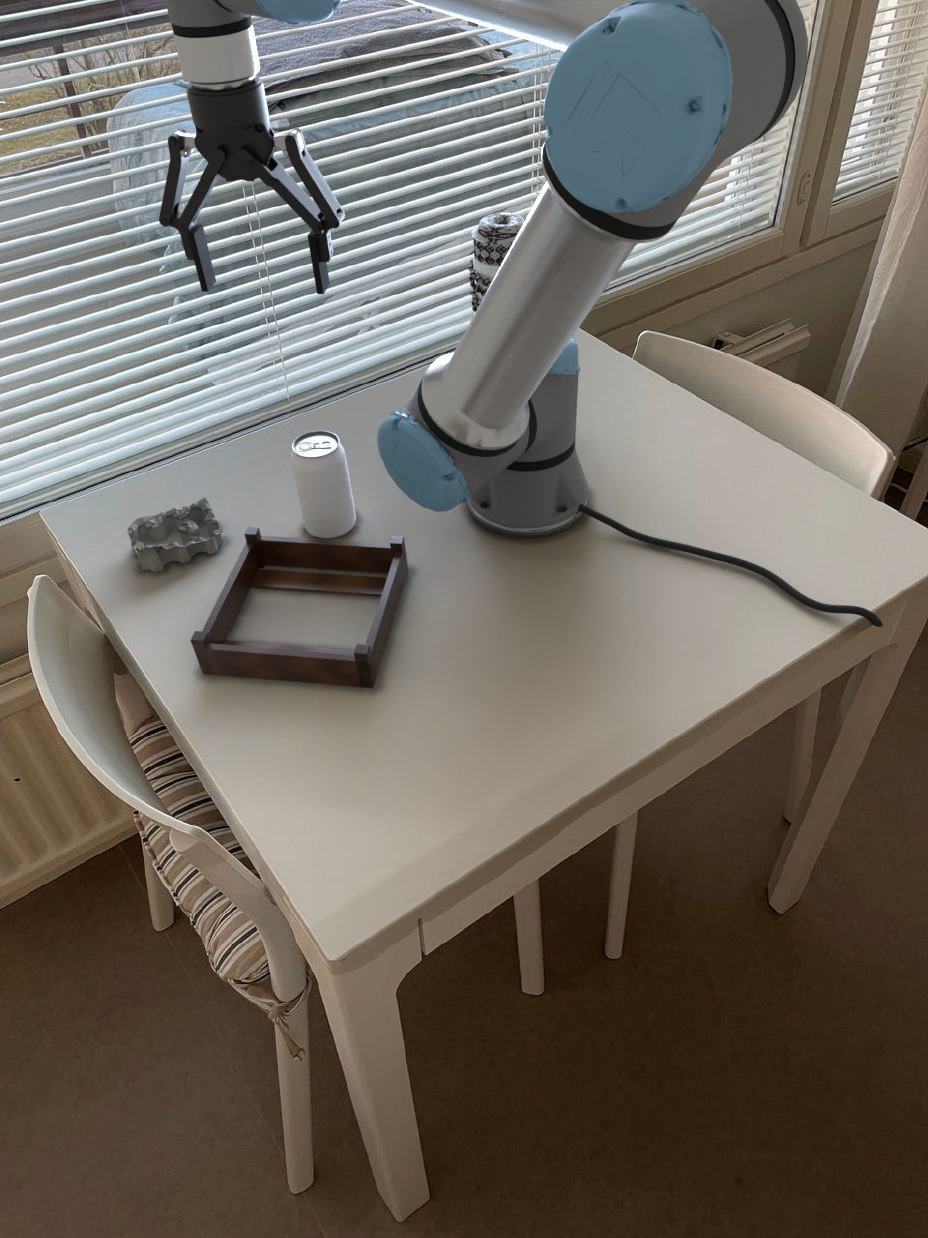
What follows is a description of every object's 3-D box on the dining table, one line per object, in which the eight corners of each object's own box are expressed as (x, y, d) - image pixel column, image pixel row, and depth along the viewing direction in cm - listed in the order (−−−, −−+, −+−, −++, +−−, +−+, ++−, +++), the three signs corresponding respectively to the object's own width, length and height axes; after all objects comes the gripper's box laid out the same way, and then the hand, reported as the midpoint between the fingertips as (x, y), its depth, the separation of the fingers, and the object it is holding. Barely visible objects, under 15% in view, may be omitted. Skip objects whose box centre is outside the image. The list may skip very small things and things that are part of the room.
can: (306, 511, 120) (289, 430, 111) (356, 506, 120) (343, 426, 112) (304, 542, 115) (286, 461, 107) (356, 538, 115) (343, 456, 107)
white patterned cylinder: (487, 370, 143) (481, 202, 125) (544, 380, 140) (546, 209, 122) (464, 400, 137) (454, 228, 119) (523, 411, 134) (522, 236, 117)
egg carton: (141, 578, 112) (131, 552, 109) (131, 542, 117) (121, 516, 114) (228, 551, 115) (220, 525, 112) (215, 517, 120) (207, 492, 117)
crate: (408, 570, 110) (404, 536, 107) (373, 688, 97) (366, 654, 94) (256, 560, 113) (247, 526, 110) (202, 674, 100) (190, 640, 96)
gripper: (355, 66, 92) (379, 275, 107) (120, 69, 96) (174, 271, 111) (336, 88, 87) (364, 305, 102) (88, 90, 91) (150, 299, 105)
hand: (265, 287), depth 106 cm, fingers open, 13 cm apart
